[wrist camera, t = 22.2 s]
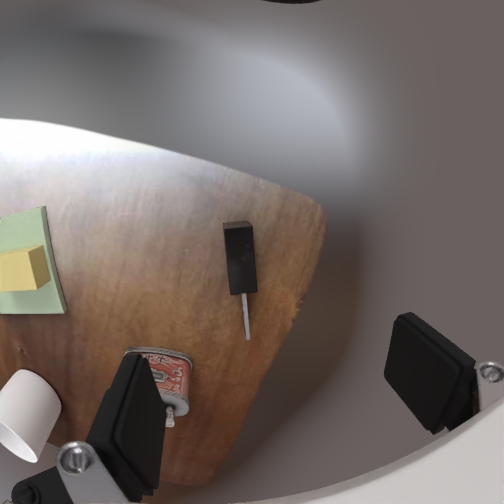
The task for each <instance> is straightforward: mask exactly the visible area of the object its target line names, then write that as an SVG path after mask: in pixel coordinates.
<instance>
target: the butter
mask: <svg viewBox="0 0 504 504" xmlns="http://www.w3.org/2000/svg"><path fill="white" fill-rule="evenodd" d="M50 280H51V279H50V275H49V271H48V267H47V263H46V258H45V254H44V249H43V245H39V246H33V247H28V248H22V249H17V250H12V251H7V252H1V253H0V292H11V291H27V290H38V289H39V288H40V287H42V286H43V285H45V284H46V283H47V282H49V281H50Z"/></svg>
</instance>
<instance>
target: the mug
mask: <svg viewBox="0 0 504 504" xmlns="http://www.w3.org/2000/svg"><path fill="white" fill-rule="evenodd" d="M60 412H61V402H60V400H59V398H58V396H57V394H56V392H55V391H54V389H53V388H52V387H51V386H50V385H49V384H48V383H47V382H46V381H45V380H44V379H43V378H41V377H40V376H39V375H37V374H35V373H33V372H31V371H28V370H19V371H17V372H16V373H15V374H14V375H13V376H12V377H11V379H10V380H9V381H8V382H7V384H6V385H5V386H4V387H3V389H2V390H1V391H0V442H1V443H2V444H3V445H4V446H5V447H6V448H7V449H9V450H10V451H11V452H13V453H14V454H16V455H17V456H19V457H20V458H22V459H24V460H26V461H30V462H37V461H38V458H39V456H40V454H41V452H42V449H43V447H44V445H45V443H46V441H47V439H48V437H49V435H50V432H51V430H52V428H53V426H54V424H55V422H56V420H57V419H58V417H59V415H60Z"/></svg>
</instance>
